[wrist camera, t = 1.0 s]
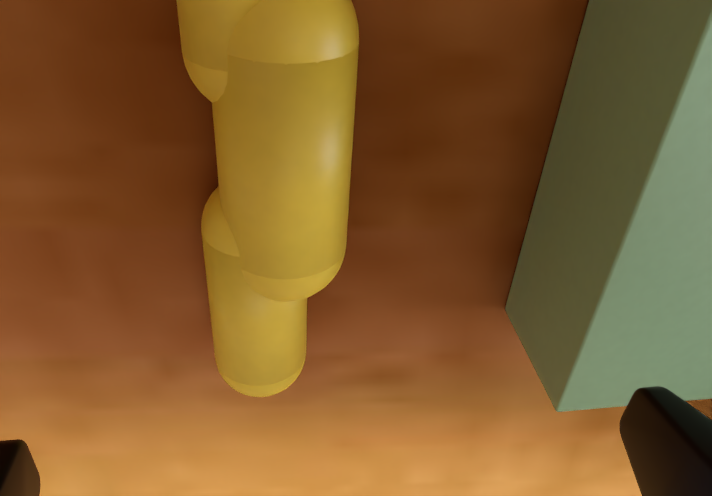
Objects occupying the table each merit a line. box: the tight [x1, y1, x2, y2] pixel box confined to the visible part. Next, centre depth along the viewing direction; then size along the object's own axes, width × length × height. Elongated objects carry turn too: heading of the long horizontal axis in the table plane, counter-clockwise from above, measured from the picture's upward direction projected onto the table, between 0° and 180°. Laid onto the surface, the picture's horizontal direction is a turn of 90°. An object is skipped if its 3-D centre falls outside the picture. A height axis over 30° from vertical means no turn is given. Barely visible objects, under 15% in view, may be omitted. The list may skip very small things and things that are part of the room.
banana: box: [176, 0, 359, 397], centre depth 16 cm, size 19×4×4 cm, turn 177°
